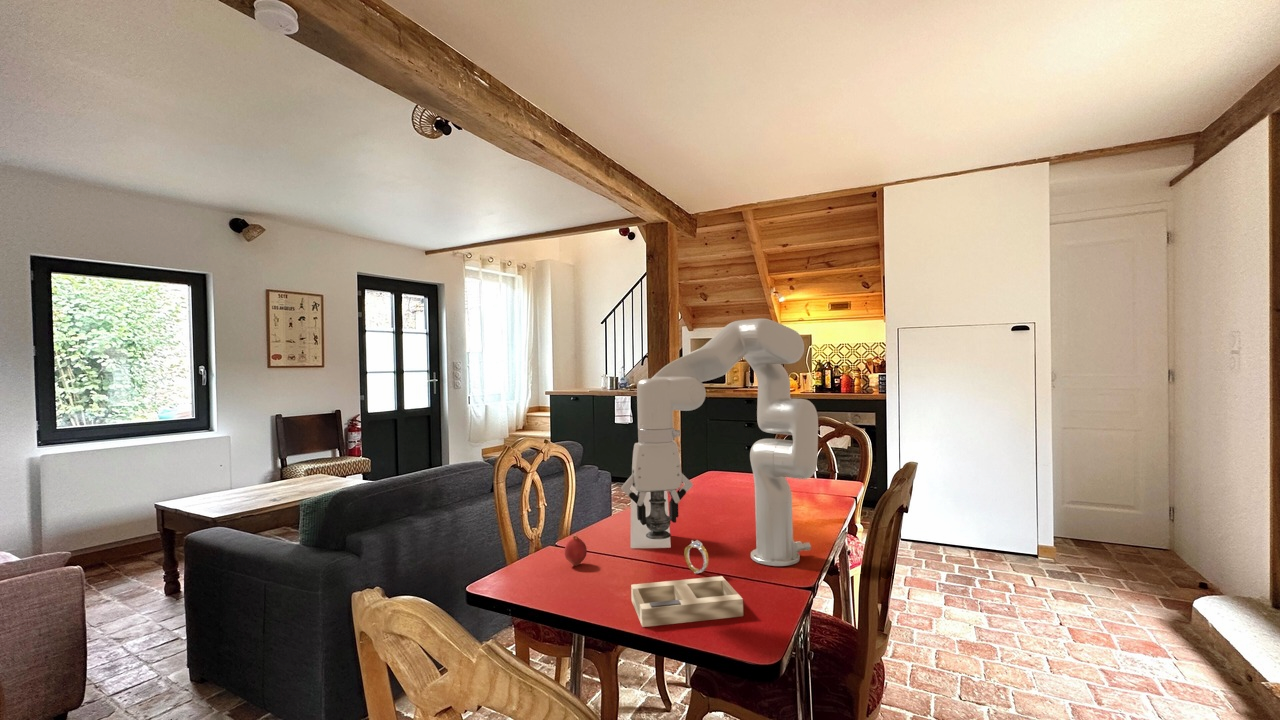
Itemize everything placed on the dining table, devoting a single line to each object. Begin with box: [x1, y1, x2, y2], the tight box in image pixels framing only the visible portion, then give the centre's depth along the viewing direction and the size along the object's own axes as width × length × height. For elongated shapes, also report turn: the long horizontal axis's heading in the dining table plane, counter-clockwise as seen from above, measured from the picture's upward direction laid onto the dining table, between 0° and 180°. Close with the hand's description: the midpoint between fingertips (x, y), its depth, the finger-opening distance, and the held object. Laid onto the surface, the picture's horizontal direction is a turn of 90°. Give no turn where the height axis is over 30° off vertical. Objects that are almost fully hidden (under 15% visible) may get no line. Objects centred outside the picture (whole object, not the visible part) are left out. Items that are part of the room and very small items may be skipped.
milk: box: [630, 485, 672, 549], centre depth 165 cm, size 12×12×26 cm
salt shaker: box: [646, 491, 672, 539], centre depth 117 cm, size 6×6×12 cm
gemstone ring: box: [683, 539, 709, 574], centre depth 138 cm, size 7×3×8 cm, turn 38°
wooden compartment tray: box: [630, 575, 744, 628], centre depth 118 cm, size 21×13×4 cm, turn 100°
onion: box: [564, 534, 588, 567], centre depth 146 cm, size 6×6×8 cm
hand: (657, 521), depth 117 cm, fingers closed on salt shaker, 5 cm apart
